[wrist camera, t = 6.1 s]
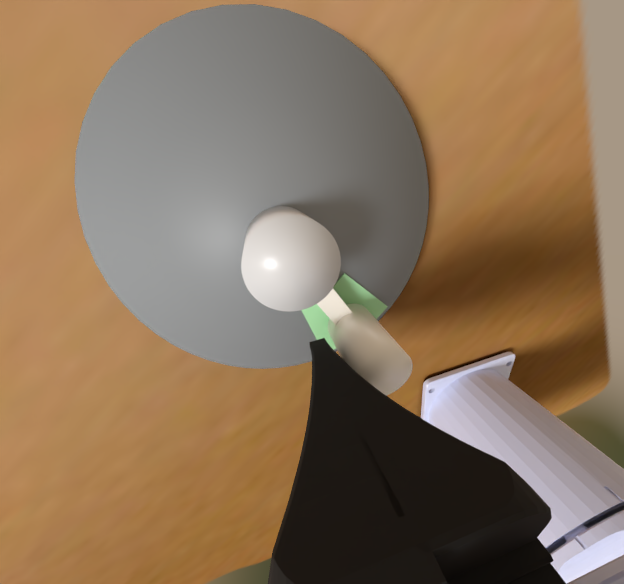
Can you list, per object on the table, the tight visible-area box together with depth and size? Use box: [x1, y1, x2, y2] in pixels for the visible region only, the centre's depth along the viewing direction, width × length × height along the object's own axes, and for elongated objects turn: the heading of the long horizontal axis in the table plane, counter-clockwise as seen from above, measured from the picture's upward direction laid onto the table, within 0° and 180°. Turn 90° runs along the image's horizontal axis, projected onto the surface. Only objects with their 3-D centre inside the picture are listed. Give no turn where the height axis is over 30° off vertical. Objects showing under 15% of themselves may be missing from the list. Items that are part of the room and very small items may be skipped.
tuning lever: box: [241, 206, 412, 395], centre depth 9 cm, size 8×3×4 cm, turn 37°
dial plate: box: [75, 4, 429, 369], centre depth 10 cm, size 14×14×1 cm
